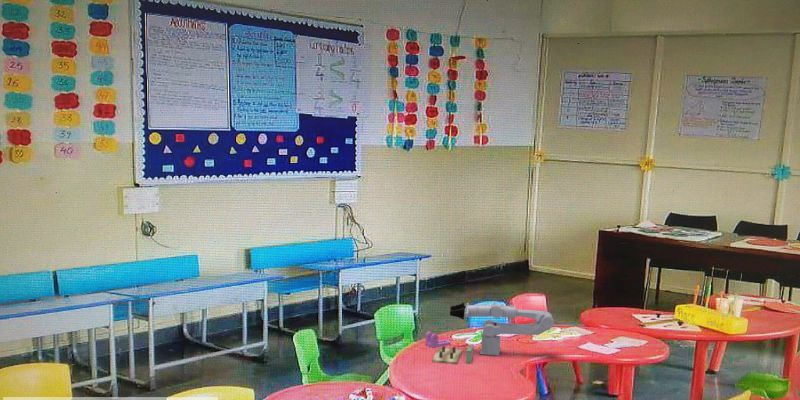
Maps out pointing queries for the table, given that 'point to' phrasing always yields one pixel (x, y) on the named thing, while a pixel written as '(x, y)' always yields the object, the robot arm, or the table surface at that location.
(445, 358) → the beige board with pegs
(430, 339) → the bracket
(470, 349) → the door
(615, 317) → the table surface
